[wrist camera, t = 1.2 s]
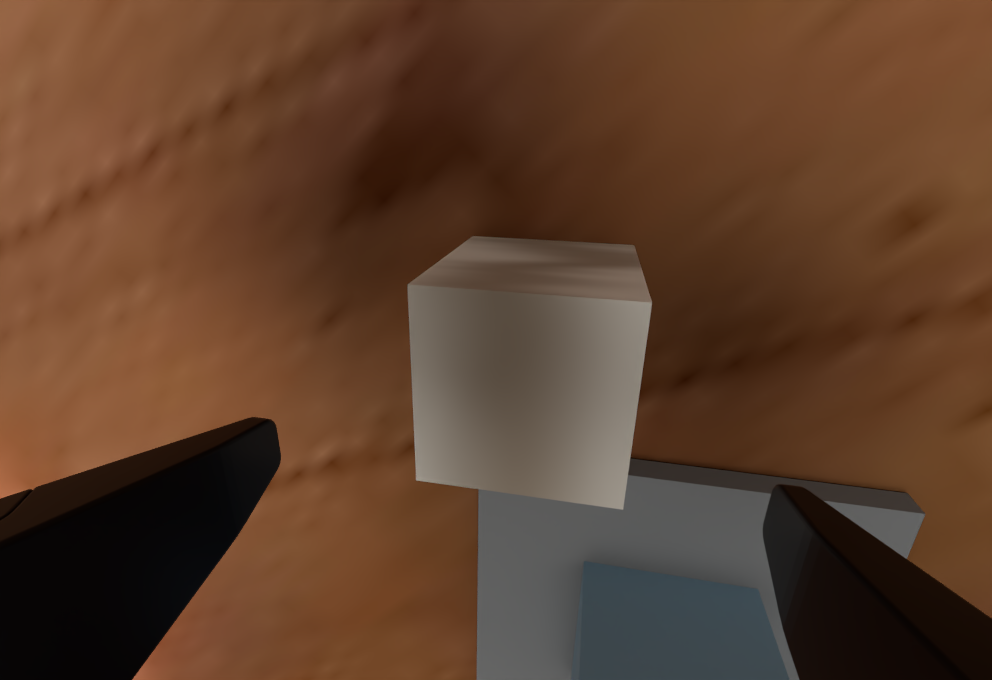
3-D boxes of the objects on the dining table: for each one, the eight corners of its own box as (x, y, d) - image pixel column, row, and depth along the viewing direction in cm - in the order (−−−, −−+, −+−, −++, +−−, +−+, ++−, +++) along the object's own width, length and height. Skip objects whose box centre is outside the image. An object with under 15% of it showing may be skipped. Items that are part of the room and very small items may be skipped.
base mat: (907, 493, 16) (925, 513, 16) (801, 761, 22) (810, 788, 21) (484, 440, 19) (478, 455, 18) (480, 693, 24) (476, 715, 23)
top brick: (633, 244, 15) (651, 302, 10) (616, 392, 17) (623, 509, 12) (473, 235, 16) (407, 284, 11) (472, 377, 18) (416, 480, 13)
